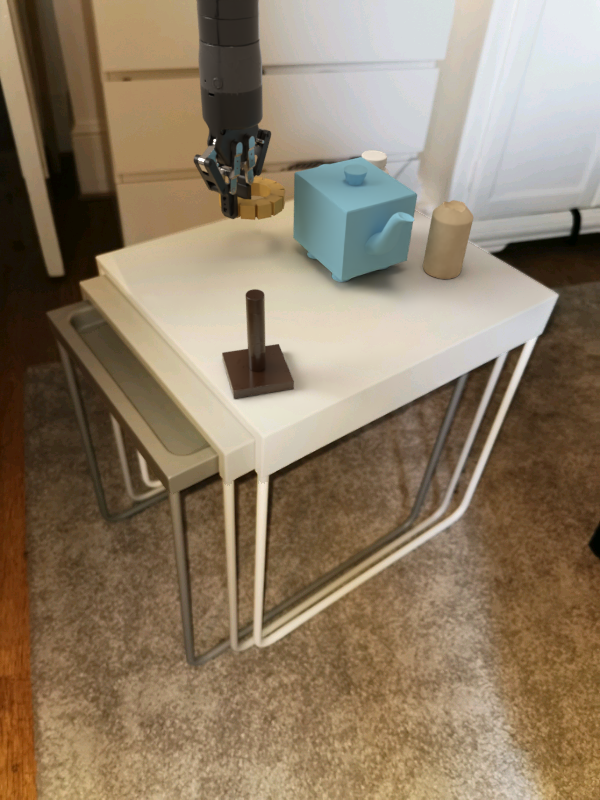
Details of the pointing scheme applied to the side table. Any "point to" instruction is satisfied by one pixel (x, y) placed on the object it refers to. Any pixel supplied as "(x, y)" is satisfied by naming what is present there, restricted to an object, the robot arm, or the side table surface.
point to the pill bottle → (376, 159)
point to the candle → (447, 239)
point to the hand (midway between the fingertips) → (236, 212)
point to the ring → (262, 200)
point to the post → (256, 357)
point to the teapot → (352, 217)
